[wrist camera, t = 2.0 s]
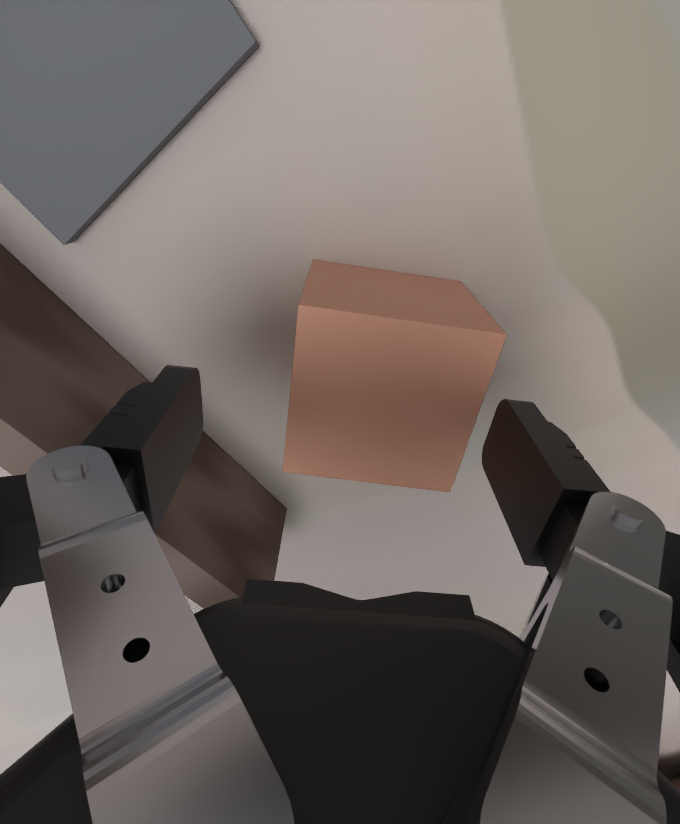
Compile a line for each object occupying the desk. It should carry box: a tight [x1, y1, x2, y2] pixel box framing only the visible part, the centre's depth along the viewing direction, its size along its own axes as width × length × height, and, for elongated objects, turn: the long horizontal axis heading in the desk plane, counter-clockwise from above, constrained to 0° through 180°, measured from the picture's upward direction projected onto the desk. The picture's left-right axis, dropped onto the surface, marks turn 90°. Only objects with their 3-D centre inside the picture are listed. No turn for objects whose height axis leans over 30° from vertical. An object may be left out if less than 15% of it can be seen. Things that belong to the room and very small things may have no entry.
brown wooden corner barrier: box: [0, 245, 286, 609], centre depth 12 cm, size 30×15×6 cm, turn 37°
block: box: [283, 259, 507, 492], centre depth 15 cm, size 6×6×6 cm
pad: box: [0, 0, 259, 245], centre depth 12 cm, size 9×9×1 cm
